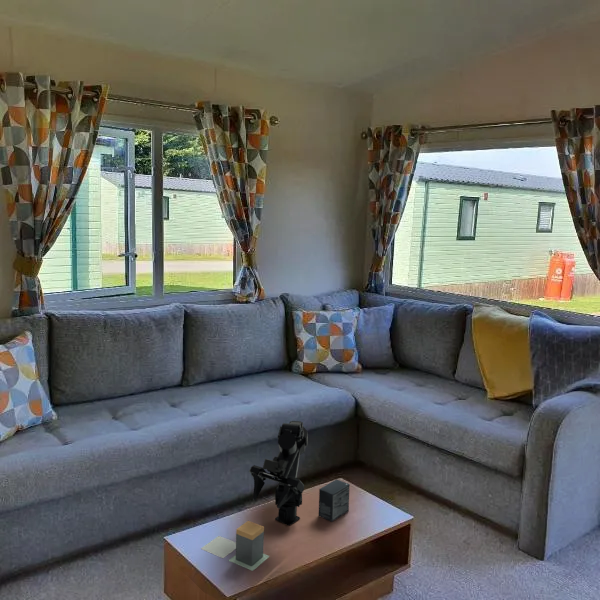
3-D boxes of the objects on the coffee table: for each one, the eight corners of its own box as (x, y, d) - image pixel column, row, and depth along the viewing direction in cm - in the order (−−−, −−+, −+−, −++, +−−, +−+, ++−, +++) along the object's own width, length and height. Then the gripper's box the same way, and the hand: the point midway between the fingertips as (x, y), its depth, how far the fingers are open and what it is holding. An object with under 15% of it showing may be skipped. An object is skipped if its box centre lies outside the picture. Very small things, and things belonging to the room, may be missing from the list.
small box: (334, 505, 216) (336, 478, 214) (349, 511, 212) (350, 484, 210) (317, 515, 208) (318, 488, 206) (332, 522, 204) (333, 494, 202)
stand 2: (246, 549, 185) (246, 546, 185) (269, 559, 181) (269, 556, 181) (228, 563, 178) (228, 560, 178) (252, 573, 173) (252, 570, 173)
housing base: (247, 550, 183) (247, 525, 182) (263, 556, 180) (263, 531, 179) (235, 559, 178) (236, 533, 177) (251, 566, 175) (252, 540, 174)
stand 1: (218, 538, 191) (218, 535, 191) (240, 547, 186) (241, 544, 186) (200, 551, 183) (200, 548, 183) (223, 561, 179) (223, 558, 179)
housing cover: (247, 529, 182) (248, 520, 182) (263, 536, 179) (264, 526, 179) (236, 538, 177) (236, 529, 177) (252, 545, 174) (252, 535, 174)
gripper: (252, 441, 194) (231, 485, 187) (301, 455, 185) (280, 502, 177) (265, 456, 202) (245, 499, 194) (312, 470, 193) (293, 515, 185)
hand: (265, 503), depth 187 cm, fingers open, 9 cm apart
